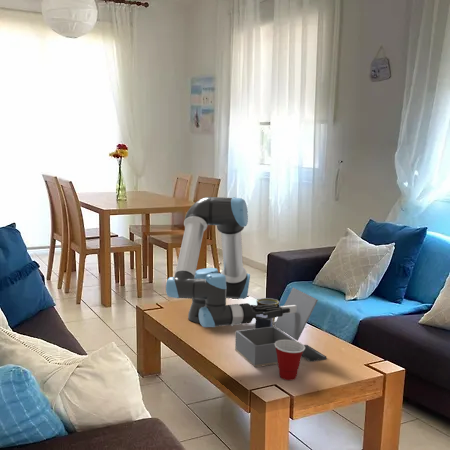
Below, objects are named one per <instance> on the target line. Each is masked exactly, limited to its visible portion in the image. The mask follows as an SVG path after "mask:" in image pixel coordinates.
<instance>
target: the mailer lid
mask: <svg viewBox="0 0 450 450" xmlns="http://www.w3.org/2000/svg"><path fill="white" fill-rule="evenodd" d="M318 301H319V299H317V298H315V297H313V296H310V295H309V294H307V293H305V292H303V291H301V290H299V289H297V288H295V287H292V289H291V290H290V293H289V295H288V296H287V299H286V301H285V303H284V304H283V306H288V305H296V313H287V314H283V316H280V317H276V318H277V319H275V320H276V321H274V325H273V326H275V327H276V328H278V329H279V330H281V331H282V332H284V333H285V334H287V335H288V336H290V337H291V338H293V339H294V340H296V341H297V342H299V339H300V338H301V336H302V333H303V332H304V329H305V327H306V325H307V323H308V322H309V319H310V317H311V316H312V313H313V311H314V309H315V307H316V305H317V303H318Z"/></svg>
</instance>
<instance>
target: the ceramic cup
mask: <svg viewBox="0 0 450 450" xmlns="http://www.w3.org/2000/svg"><path fill="white" fill-rule="evenodd" d="M279 303H280V302H279V300H278V299H276V298H271V297H269V298H268V297H262V298H257V299H256V305H276V306H277V304H279ZM275 320H276V317H275V318H273V324H275V322H276V321H275Z"/></svg>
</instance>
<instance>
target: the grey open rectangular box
mask: <svg viewBox="0 0 450 450" xmlns="http://www.w3.org/2000/svg"><path fill="white" fill-rule="evenodd" d="M278 340H293V341H297V340H295V339H294V338H292V337H291V336H289V335H288V334H286V333H285V332H283V331H282V330H280V329H279V328H277V327H276V326H274V325H273V326H272V327H264V328H256V329H255V328H249V329H241V330H235V344H234V345H235V349H234V350H235V351H236V353H238V354H239V355H240V356H241V357H243V359H244V360H246V361H247V362H248V363H249V364H251V366H253V367H254V368H258V367H259V368H260V367H265V366H273V365H278V360H277V353H276V347H275V344H274V343H275V342H276V341H278Z"/></svg>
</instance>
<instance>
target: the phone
mask: <svg viewBox="0 0 450 450" xmlns="http://www.w3.org/2000/svg"><path fill="white" fill-rule="evenodd" d="M303 345H304V346H305V350H304V351H303V353H302V356H301V358H303V359H305V360H307V361H308V362H310V363H312V362H320V361H324V360H326V359H327V355H325V354H323V353H321V352H319V350H316V349H315V348H313V347H311V346H310V345H308V344H303Z"/></svg>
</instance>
